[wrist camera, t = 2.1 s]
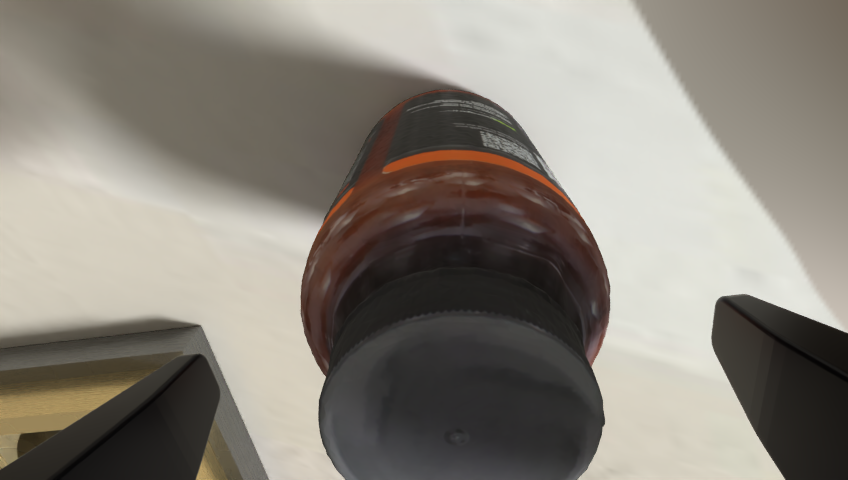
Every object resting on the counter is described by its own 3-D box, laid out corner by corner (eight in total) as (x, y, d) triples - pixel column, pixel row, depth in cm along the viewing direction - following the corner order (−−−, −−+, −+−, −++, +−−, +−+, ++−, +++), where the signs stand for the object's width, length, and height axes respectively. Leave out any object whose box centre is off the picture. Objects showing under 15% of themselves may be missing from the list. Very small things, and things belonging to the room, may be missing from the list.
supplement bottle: (378, 258, 18) (296, 577, 8) (345, 99, 16) (164, 273, 6) (537, 241, 18) (663, 561, 8) (530, 72, 15) (707, 213, 5)
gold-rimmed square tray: (283, 512, 25) (259, 587, 22) (73, 527, 26) (21, 600, 23) (201, 326, 20) (154, 388, 17) (-55, 355, 21) (-145, 418, 18)
